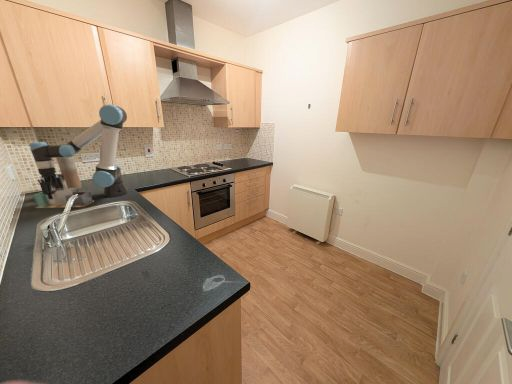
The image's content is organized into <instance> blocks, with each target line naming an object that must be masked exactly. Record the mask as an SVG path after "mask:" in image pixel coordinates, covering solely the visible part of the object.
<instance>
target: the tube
mask: <svg viewBox="0 0 512 384" xmlns="http://www.w3.org/2000/svg"><path fill="white" fill-rule="evenodd" d="M51 189H52V194H54V197H55V200H56V204H51V202H50V199H49V198H48V195H46V194H44V196H45V199H46V202H47V204H48V205H66V203H67V200H66V197H65V196H66V195H75V194H78V195H79V192H80V191H79V189H78V188H51Z"/></svg>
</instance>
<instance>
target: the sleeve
mask: <svg viewBox="0 0 512 384" xmlns="http://www.w3.org/2000/svg"><path fill="white" fill-rule="evenodd" d="M71 196H72V195H66V196H65V197H66V200H67V201H68V199H69V198H70V197H71ZM92 201H94V200H93V195H92V193H91V191H79V195H78V198H77V199H76V200H75V201H74V203H73V206H84V205H86V204H88V203H90V202H92Z"/></svg>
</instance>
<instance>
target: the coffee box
mask: <svg viewBox="0 0 512 384" xmlns="http://www.w3.org/2000/svg"><path fill="white" fill-rule="evenodd" d="M55 174H56V175H60V178H61V181H62V184H63V187H64V188H67V185H66V181H65V178H64V175H63V174H61V173H59V174H58V173H55ZM47 183H49V182H47ZM51 188H55V187H54V185H53V184H51Z"/></svg>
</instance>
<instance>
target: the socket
mask: <svg viewBox="0 0 512 384" xmlns="http://www.w3.org/2000/svg"><path fill="white" fill-rule="evenodd" d="M32 197H33V200H34V202H35V205H36V206H35V207H44V206H46V203H47V202H46V199H45V196H44V194H43V192H42V191H40V192H37V193H35V194H32Z"/></svg>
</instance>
